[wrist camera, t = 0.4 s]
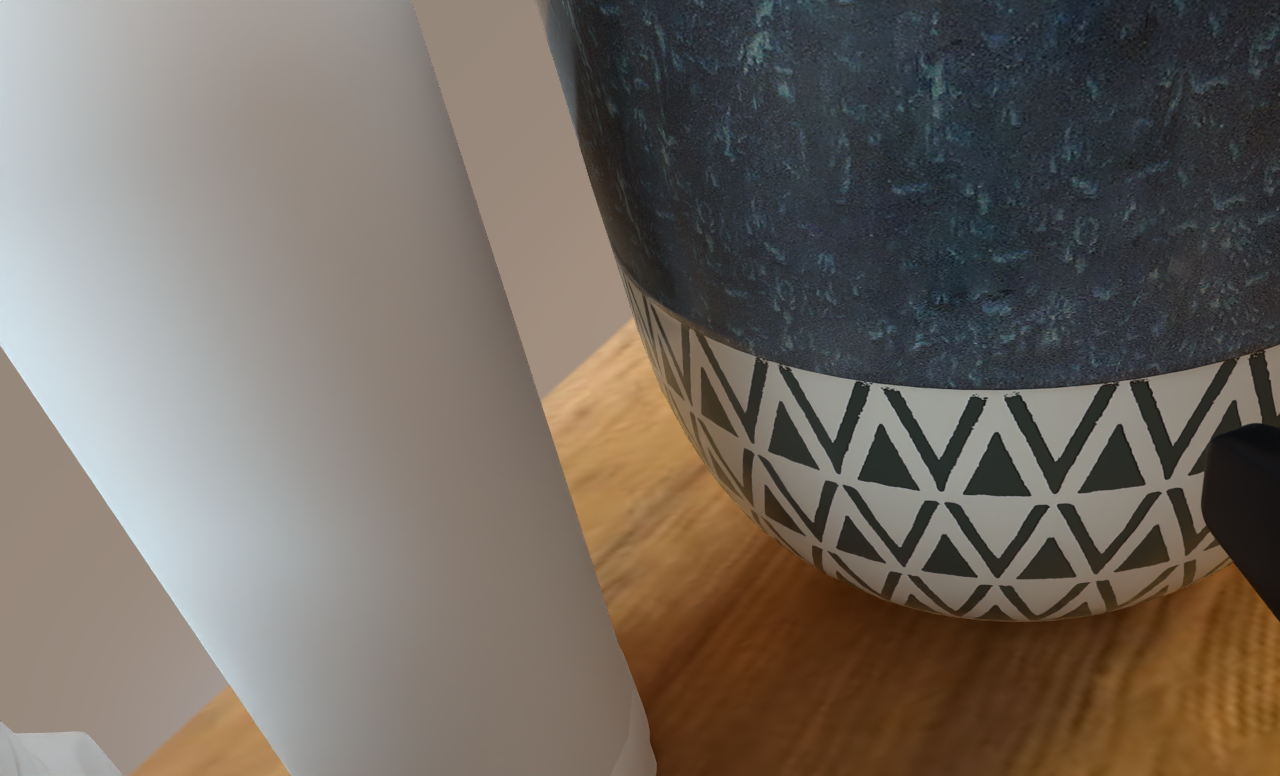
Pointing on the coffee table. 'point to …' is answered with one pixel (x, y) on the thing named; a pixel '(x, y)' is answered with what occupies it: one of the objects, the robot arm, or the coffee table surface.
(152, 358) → the bottle
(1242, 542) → the robot arm
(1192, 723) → the coffee table surface
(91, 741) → the jar
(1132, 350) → the planter
